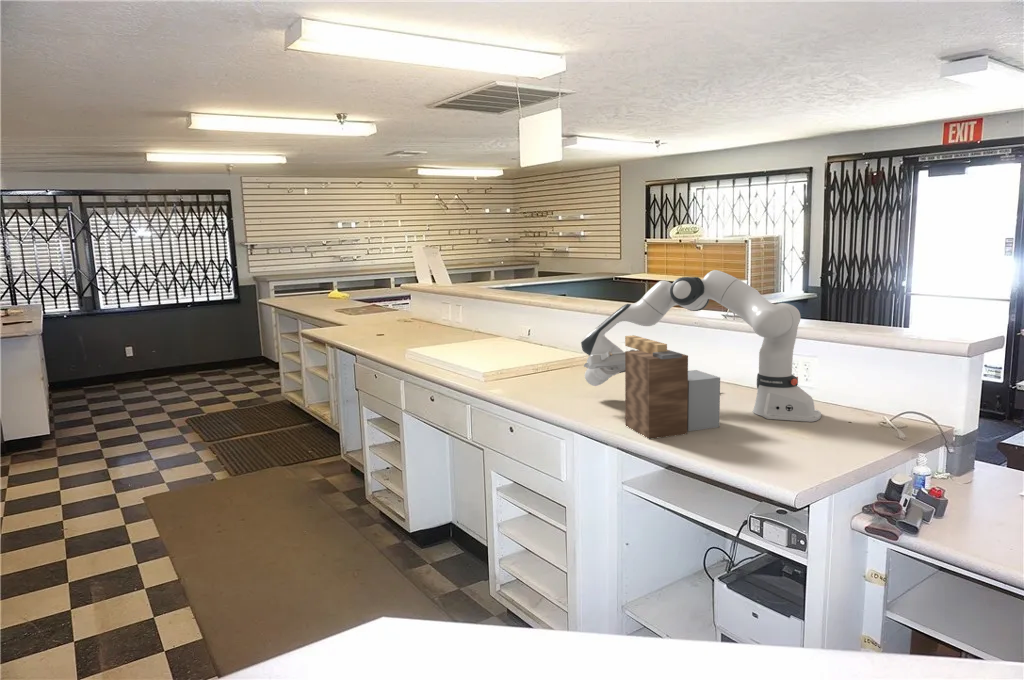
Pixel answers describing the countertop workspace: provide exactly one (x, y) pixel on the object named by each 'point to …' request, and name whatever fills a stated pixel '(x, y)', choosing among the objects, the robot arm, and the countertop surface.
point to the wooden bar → (651, 347)
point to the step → (703, 401)
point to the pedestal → (656, 394)
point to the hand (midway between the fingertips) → (621, 352)
